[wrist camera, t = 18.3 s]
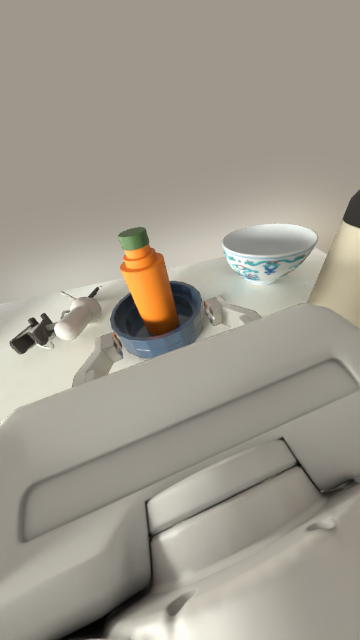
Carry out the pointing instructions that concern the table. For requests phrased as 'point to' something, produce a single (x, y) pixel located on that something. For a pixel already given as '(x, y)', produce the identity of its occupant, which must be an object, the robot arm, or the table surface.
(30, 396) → the table surface
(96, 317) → the clip-on lamp
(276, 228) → the chinaware
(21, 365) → the table surface
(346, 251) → the travel mug
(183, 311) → the bowl
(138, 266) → the juice bottle
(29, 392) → the table surface
